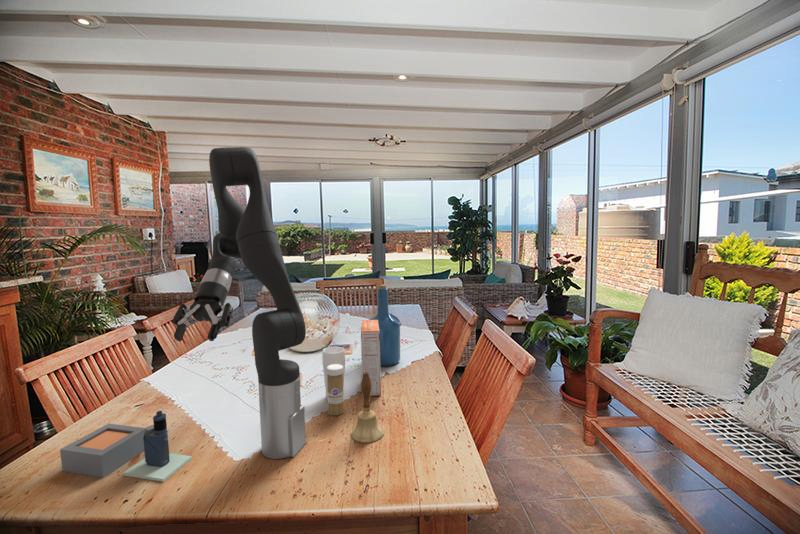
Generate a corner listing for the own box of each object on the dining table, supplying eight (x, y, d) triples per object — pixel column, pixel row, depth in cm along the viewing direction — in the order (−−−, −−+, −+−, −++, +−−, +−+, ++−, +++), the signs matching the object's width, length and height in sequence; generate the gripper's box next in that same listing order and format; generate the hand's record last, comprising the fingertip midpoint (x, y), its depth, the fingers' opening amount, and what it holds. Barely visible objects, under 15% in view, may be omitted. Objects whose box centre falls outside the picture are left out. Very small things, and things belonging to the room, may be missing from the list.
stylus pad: (192, 458, 87) (192, 456, 86) (163, 481, 79) (163, 479, 79) (155, 453, 89) (155, 451, 89) (123, 475, 81) (123, 472, 81)
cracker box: (362, 379, 131) (361, 319, 129) (379, 378, 131) (378, 319, 129) (361, 397, 117) (360, 330, 115) (381, 396, 117) (380, 330, 115)
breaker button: (133, 445, 89) (132, 433, 89) (104, 464, 82) (103, 451, 82) (108, 442, 91) (107, 430, 90) (78, 460, 84) (77, 447, 84)
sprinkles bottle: (329, 417, 105) (328, 370, 103) (326, 410, 109) (325, 364, 107) (346, 414, 106) (345, 367, 105) (342, 407, 111) (340, 362, 109)
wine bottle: (362, 366, 142) (361, 287, 139) (370, 354, 155) (369, 282, 152) (398, 368, 140) (397, 288, 137) (403, 356, 153) (403, 282, 150)
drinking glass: (335, 404, 113) (334, 354, 111) (318, 398, 116) (317, 351, 115) (350, 395, 118) (349, 348, 117) (333, 390, 122) (332, 345, 120)
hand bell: (344, 434, 96) (342, 373, 94) (368, 422, 102) (367, 364, 100) (366, 447, 91) (364, 382, 89) (390, 433, 97) (389, 372, 95)
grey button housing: (148, 448, 91) (146, 428, 90) (103, 477, 80) (101, 455, 80) (110, 442, 93) (108, 423, 93) (62, 471, 82) (59, 449, 82)
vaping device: (163, 468, 82) (159, 415, 81) (142, 465, 83) (138, 413, 82) (172, 461, 85) (168, 409, 83) (152, 458, 86) (148, 407, 85)
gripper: (183, 280, 105) (158, 332, 94) (234, 279, 104) (215, 332, 94) (195, 296, 110) (174, 347, 100) (243, 295, 110) (227, 346, 99)
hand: (193, 339), depth 97 cm, fingers open, 8 cm apart
